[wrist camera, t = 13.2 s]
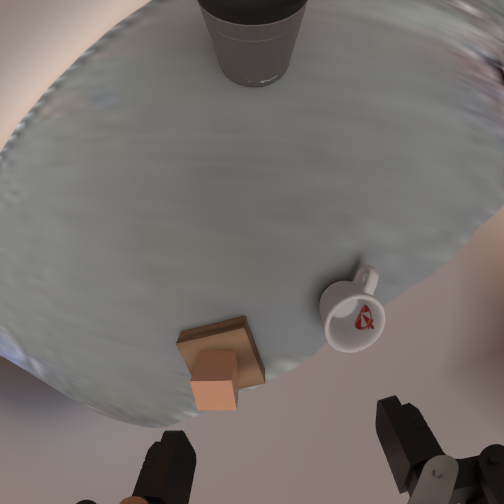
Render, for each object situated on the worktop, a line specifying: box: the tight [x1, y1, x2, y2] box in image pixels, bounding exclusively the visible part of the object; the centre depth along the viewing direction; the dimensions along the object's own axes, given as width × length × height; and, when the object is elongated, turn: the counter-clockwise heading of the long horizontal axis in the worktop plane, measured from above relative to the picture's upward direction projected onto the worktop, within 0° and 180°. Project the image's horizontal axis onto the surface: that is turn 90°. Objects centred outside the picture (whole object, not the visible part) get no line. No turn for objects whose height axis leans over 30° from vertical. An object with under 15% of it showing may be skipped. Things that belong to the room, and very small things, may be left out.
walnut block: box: [176, 316, 265, 389], centre depth 42 cm, size 10×10×4 cm
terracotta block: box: [190, 350, 240, 410], centre depth 37 cm, size 5×5×7 cm
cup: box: [319, 265, 386, 352], centre depth 37 cm, size 11×8×8 cm
